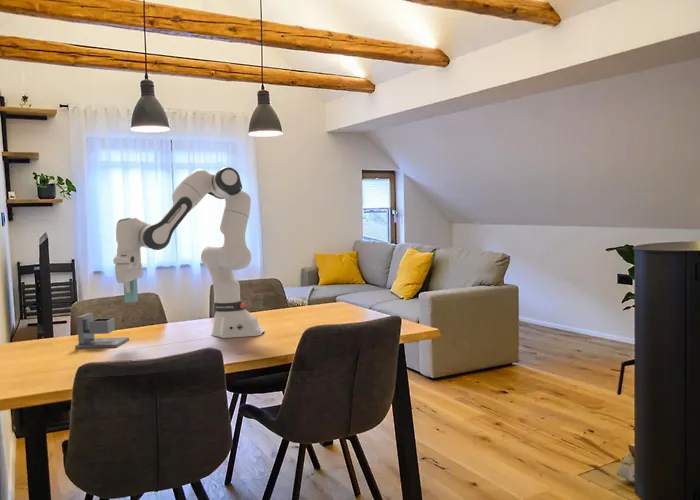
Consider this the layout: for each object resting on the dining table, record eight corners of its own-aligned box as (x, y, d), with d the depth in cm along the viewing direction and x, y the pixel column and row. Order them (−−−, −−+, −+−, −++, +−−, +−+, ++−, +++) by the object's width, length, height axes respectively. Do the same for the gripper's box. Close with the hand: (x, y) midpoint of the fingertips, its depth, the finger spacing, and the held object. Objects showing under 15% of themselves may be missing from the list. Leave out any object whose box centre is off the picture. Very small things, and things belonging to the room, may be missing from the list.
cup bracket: (129, 340, 236) (127, 311, 235) (116, 347, 222) (115, 316, 221) (90, 341, 236) (89, 312, 235) (75, 348, 222) (73, 317, 221)
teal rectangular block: (138, 300, 230) (136, 278, 230) (134, 302, 226) (133, 280, 226) (128, 301, 230) (127, 279, 230) (124, 302, 226) (123, 280, 226)
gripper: (130, 255, 238) (132, 288, 238) (111, 259, 217) (113, 295, 218) (145, 255, 238) (147, 287, 239) (128, 259, 217) (130, 294, 218)
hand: (131, 291), depth 228 cm, fingers closed on teal rectangular block, 4 cm apart
